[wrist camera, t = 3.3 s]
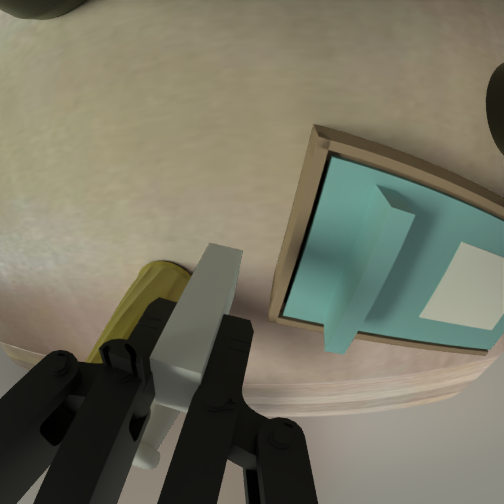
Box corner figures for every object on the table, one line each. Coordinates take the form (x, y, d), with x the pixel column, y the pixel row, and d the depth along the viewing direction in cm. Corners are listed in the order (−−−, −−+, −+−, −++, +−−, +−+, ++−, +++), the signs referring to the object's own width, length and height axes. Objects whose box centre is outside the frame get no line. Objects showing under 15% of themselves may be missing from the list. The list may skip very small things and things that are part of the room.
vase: (210, 280, 25) (148, 434, 13) (189, 322, 28) (136, 454, 16) (147, 248, 24) (50, 380, 12) (134, 295, 28) (60, 414, 16)
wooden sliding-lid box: (313, 124, 18) (318, 136, 13) (525, 210, 17) (559, 240, 13) (273, 275, 24) (266, 321, 20) (467, 317, 23) (485, 355, 19)
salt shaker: (162, 350, 32) (118, 449, 21) (203, 376, 33) (172, 474, 22) (143, 368, 34) (104, 453, 23) (180, 390, 36) (150, 475, 25)
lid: (331, 154, 14) (340, 174, 11) (550, 245, 14) (575, 272, 10) (283, 308, 20) (279, 350, 17) (487, 344, 19) (501, 375, 16)
